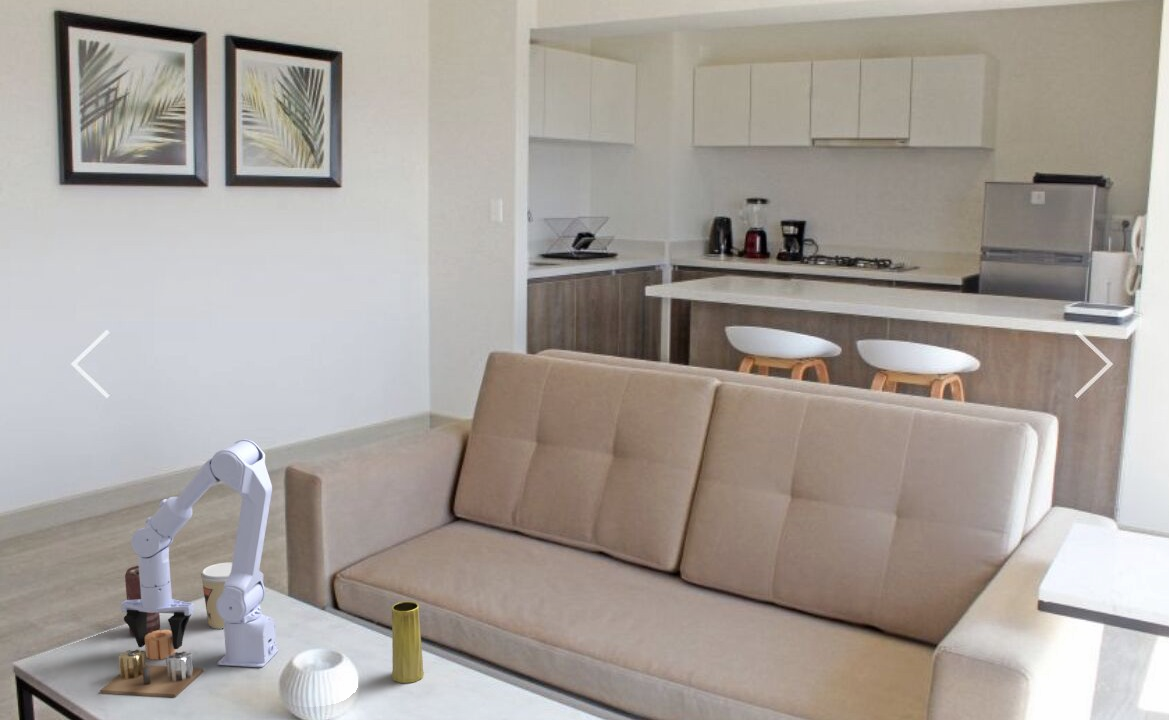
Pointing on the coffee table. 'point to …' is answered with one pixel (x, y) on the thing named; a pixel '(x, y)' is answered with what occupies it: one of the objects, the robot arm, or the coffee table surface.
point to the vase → (406, 643)
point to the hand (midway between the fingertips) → (160, 646)
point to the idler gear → (159, 644)
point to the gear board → (150, 683)
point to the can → (135, 593)
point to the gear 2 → (179, 666)
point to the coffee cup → (214, 590)
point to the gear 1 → (131, 664)
